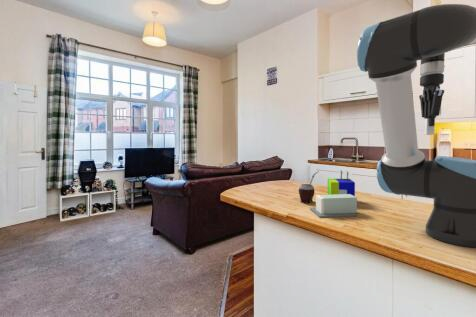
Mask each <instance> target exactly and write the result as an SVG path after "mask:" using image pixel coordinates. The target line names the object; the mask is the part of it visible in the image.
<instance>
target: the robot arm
mask: <svg viewBox="0 0 476 317" xmlns="http://www.w3.org/2000/svg"><path fill="white" fill-rule="evenodd" d="M472 45H476V7H475V6H471V5H468V4H460V3H447V4H446V3H445V4H444V3H443V4H437V5H436V4H435V5H431V6H427V7H424V8H421V9H419V10H416V11H415V10H414V11H411V12H409V13H405V14H403V15H400V16H396V17H392V18H390V19H386V20H383V21H379V22H378V23H375V24H372V25H371V26H368V27H366V28H365V29H364V30H363V31H362V32H361V34H360V35H359V39H358V43H357V49H356V60H357V65H358V68H359V70H360V71H362V72H364V73H368V74H367V76H368V79H370V80H371V81H372V82H374V83H375V87H376V89H375V90H376V93H377V94H376V95H377V101H378V107H379V115H380V120H381V122H380V123H381V129H382V135H383V141H384V148H385V153H384V154H383V155H382V156H381V158H380V160H379V161H378V162H377V165H376V171H377V172H376V180H377V182H378V185H379V187H380V189H381V190H383V191H384V192H385V193H389V194H395V195H399V196H400V195H401V196H402V195H403V196H409V197H416V198H417V197H418V198H426V199H432V200H433V207H432V211H431V212H430V215H429V217H428V219H427V221H426V223H425V233H426V235H428V236H429V237H430V238H433V239H436V240H437V241H441V242H443V243H447V244H452V245H456V246H462V247H468V248H476V160H475V159H470V158H465V157H464V158H463V157H457V156H456V157H455V156H445V155H439V156H437V155H436V156H435V158H434V160H426V155H425V153H424V152H423V151H421V150H420V149H419V145H418V144H419V143H418V134H417V126H416V124H417V122H416V115H415V105H414V104H415V103H414V102H415V101H414V92H413V82H412V73H413V72H414V71H415V70H416V68H418V61H420V65H419V66H420V68H419V69H420V70H419V76H420V78H419V86H420V87H423V89H422V94H419V96H418V97H419V101H420V102H419V103H420V112H421V118H423V119H424V135H425V136H431V135H433V136H434V135H435V126H436V124H435V123H436V121H435V120H436V118H437V117H439V115H440V113H441V112H440V111H441V106H442V101H443V96H444V94H445V89H441V85H443V84H444V82H445V74H444V72H445V67H446V66H445V54H446V53H448V52H451V51H454V50H456V49H461V48H463V47H467V46H472Z"/></svg>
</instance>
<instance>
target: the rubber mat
mask: <svg viewBox="0 0 476 317" xmlns="http://www.w3.org/2000/svg"><path fill="white" fill-rule="evenodd" d="M309 210H310V211H311V212H312V213H314V214H315V215H316V216H317V217H318V218H320V219H321V218H340V217H341V218H345V217H348V218H349V217H356V216H357V213H332V214H321V213H320V212H318V211H317V210H316V207H309Z"/></svg>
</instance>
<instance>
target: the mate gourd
mask: <svg viewBox="0 0 476 317" xmlns="http://www.w3.org/2000/svg"><path fill="white" fill-rule="evenodd" d="M318 173H320V171H319V170H317V171H316V172H314V174H312V176H311V178H310V182H309V184H308V183H305V184H304V183H303V184H300V186H299V187H298V195H299V199H300V202H301V204H302V202H304V203H306V204H307V203H308V204H309V203H312V202H313V198H314V196H315V187H314V185H312V182H313V180H314V178H315V176H316V174H318Z"/></svg>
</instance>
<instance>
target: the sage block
mask: <svg viewBox="0 0 476 317" xmlns="http://www.w3.org/2000/svg"><path fill="white" fill-rule="evenodd" d="M315 208H316V210H317V211H318V212H320V213H321V214H332V213H354V214H357V212H358V211H357V210H358V197H357V196H353V195H351V194H335V195H328V194H316V195H315Z"/></svg>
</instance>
